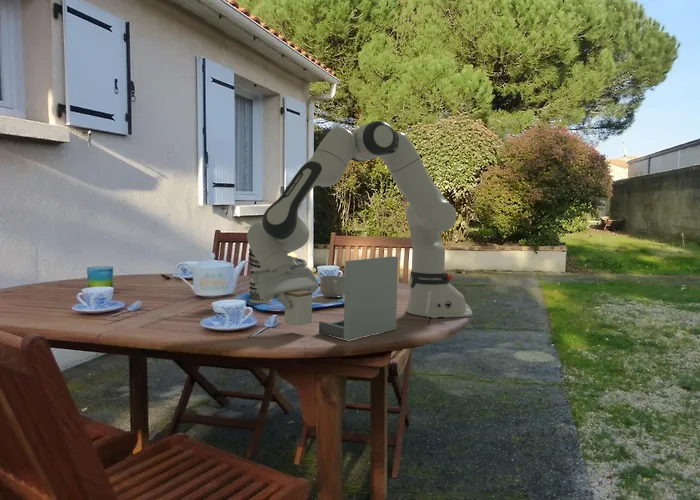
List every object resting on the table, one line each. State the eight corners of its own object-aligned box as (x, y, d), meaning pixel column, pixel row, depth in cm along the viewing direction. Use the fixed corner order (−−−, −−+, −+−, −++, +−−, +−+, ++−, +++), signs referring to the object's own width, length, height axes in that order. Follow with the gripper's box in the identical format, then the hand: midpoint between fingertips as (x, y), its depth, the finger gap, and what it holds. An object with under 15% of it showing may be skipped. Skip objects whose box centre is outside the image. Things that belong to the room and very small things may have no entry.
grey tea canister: (299, 319, 165) (299, 289, 164) (311, 323, 161) (312, 292, 160) (284, 322, 161) (284, 291, 160) (297, 326, 157) (297, 294, 156)
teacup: (322, 293, 225) (323, 274, 224) (349, 295, 223) (350, 275, 222) (315, 300, 211) (316, 279, 210) (344, 301, 210) (344, 280, 209)
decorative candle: (244, 299, 209) (245, 232, 206) (268, 298, 213) (268, 232, 211) (253, 304, 201) (253, 234, 198) (277, 302, 205) (278, 234, 203)
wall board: (366, 323, 176) (368, 253, 174) (395, 330, 167) (398, 257, 165) (319, 333, 162) (320, 257, 159) (348, 341, 153) (350, 261, 151)
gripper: (254, 264, 157) (275, 304, 151) (309, 259, 171) (330, 295, 166) (244, 278, 161) (265, 318, 155) (299, 272, 175) (320, 308, 169)
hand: (299, 306), depth 160 cm, fingers closed on grey tea canister, 5 cm apart
